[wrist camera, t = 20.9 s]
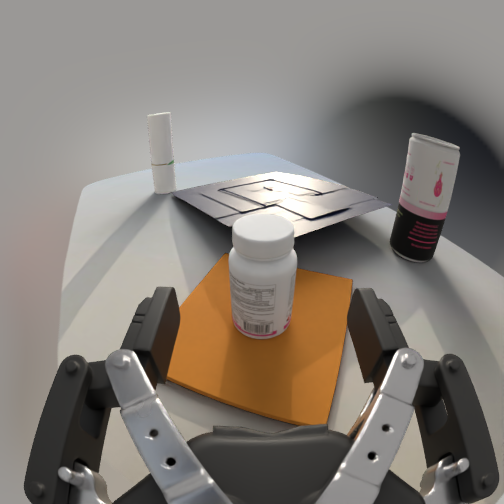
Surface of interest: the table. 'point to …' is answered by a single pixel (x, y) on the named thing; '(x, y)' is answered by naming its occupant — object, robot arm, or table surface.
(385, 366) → the robot arm
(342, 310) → the amber mat
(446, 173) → the beverage can
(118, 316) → the table surface
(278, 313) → the pill bottle
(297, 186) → the papers
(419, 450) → the table surface
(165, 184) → the tube
